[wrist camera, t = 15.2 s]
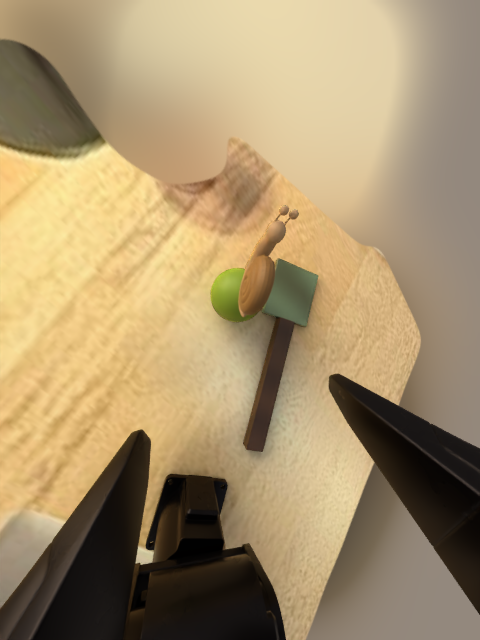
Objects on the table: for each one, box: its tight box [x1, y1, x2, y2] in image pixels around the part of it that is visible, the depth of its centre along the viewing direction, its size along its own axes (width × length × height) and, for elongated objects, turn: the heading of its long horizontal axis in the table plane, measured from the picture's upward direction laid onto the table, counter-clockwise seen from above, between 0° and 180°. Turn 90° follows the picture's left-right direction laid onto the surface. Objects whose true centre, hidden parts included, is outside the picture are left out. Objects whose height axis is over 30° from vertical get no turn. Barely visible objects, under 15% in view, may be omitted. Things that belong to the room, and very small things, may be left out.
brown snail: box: [211, 205, 299, 322], centre depth 16 cm, size 5×6×12 cm
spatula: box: [243, 258, 318, 452], centre depth 23 cm, size 22×6×1 cm, turn 164°
